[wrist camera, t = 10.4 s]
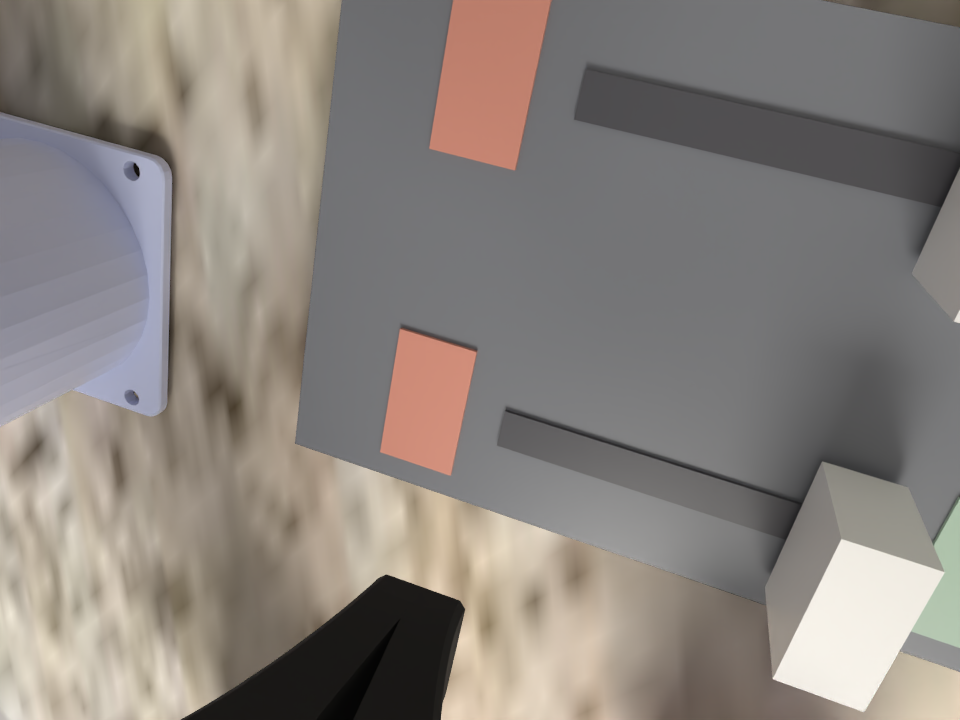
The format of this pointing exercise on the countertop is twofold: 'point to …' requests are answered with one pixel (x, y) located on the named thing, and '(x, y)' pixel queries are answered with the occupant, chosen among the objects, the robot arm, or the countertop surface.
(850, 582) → the block
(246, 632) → the countertop surface
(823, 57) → the breaker panel
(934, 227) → the block
